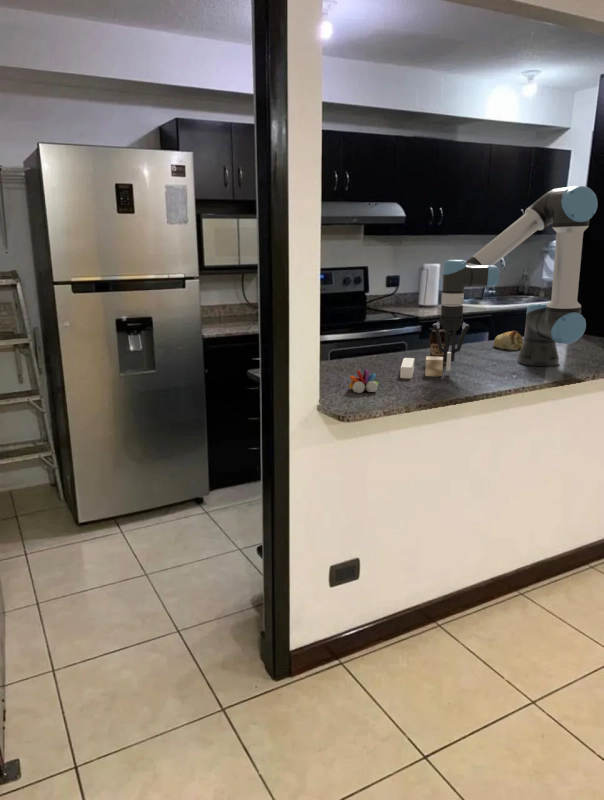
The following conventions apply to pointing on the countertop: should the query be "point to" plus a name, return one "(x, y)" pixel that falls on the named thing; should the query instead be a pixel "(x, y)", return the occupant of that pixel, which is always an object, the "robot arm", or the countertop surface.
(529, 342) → the robot arm
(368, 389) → the rainbow fan toy
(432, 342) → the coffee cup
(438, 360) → the block
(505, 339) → the pastry
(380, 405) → the countertop surface
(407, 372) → the white rectangular bar
